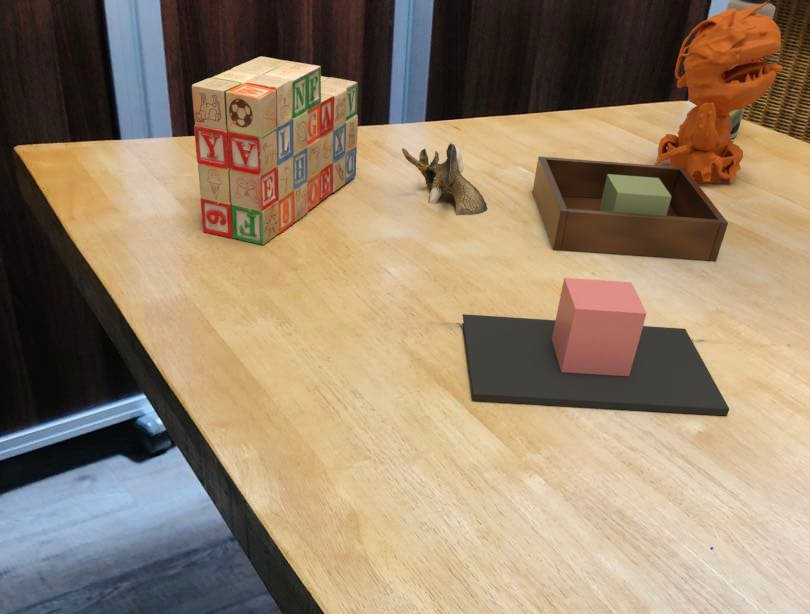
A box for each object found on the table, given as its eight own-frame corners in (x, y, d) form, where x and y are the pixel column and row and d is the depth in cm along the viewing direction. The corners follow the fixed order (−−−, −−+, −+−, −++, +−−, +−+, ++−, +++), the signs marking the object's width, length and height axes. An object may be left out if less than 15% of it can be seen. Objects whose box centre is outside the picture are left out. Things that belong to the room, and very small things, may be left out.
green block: (645, 230, 85) (659, 177, 82) (657, 250, 81) (671, 196, 78) (595, 226, 85) (607, 173, 82) (605, 246, 81) (617, 192, 78)
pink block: (615, 343, 66) (631, 281, 63) (629, 377, 62) (647, 312, 59) (551, 339, 66) (564, 277, 63) (561, 372, 62) (575, 308, 59)
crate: (673, 208, 92) (684, 167, 90) (714, 267, 81) (728, 222, 78) (531, 197, 91) (538, 156, 89) (551, 256, 80) (560, 210, 77)
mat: (683, 335, 69) (685, 328, 69) (727, 416, 60) (730, 408, 60) (461, 320, 68) (462, 313, 68) (472, 401, 59) (473, 393, 59)
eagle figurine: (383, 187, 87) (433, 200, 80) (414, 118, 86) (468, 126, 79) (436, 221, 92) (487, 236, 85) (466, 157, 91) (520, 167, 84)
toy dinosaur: (742, 202, 95) (803, 15, 84) (643, 184, 97) (690, -1, 86) (745, 173, 103) (801, -1, 92) (654, 157, 106) (698, -15, 94)
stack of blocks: (303, 166, 93) (303, 37, 85) (357, 177, 92) (361, 47, 84) (201, 232, 78) (189, 82, 70) (264, 246, 76) (259, 94, 68)
